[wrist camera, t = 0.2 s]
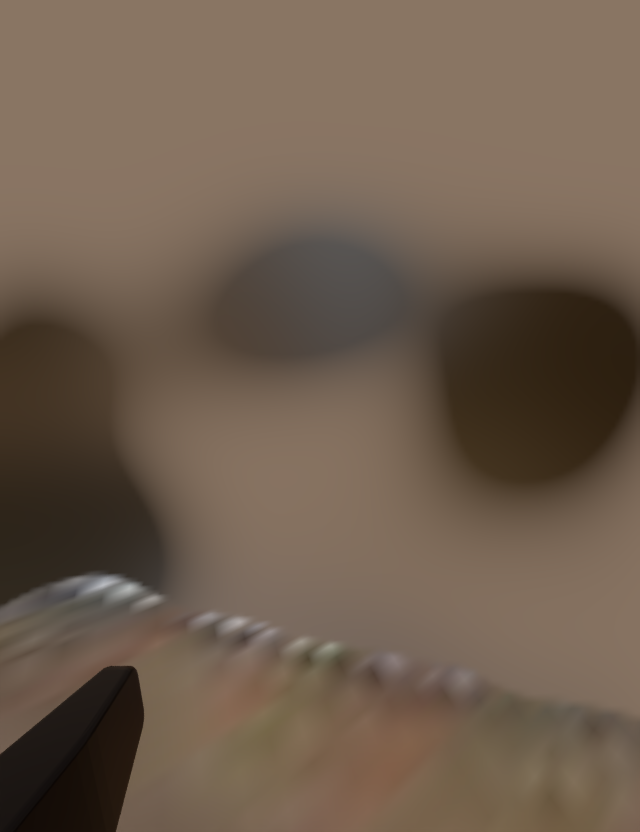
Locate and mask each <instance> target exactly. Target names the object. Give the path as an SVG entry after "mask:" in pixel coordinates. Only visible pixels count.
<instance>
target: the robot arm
mask: <svg viewBox="0 0 640 832" xmlns="http://www.w3.org/2000/svg"><path fill="white" fill-rule="evenodd" d="M143 722H144V708H143V701H142V695H141V689H140V683H139V677H138V673H137V670H136V669H135V668H134V667H133V666H109V667H106V668H104V669H103V670H101V671H100V672H99V673H97V674H96V675H95V676H94V677H93V678H91V679H90V680H89V681H88V682H87V683H85V684H84V685H83V686H82V687H81V688H79V689H78V690H77V691H76V692H75V693H73V694H72V695H71V696H70V697H69V698H67V699H66V700H65V701H64V702H63V703H61V704H60V705H59V706H58V707H57V708H55V709H54V710H53V711H52V712H51V713H49V714H48V715H47V716H46V717H44V718H43V719H42V720H41V721H40V722H38V723H37V724H36V725H35V726H34V727H32V728H31V729H30V730H29V731H28V732H26V733H25V734H24V735H23V736H22V737H20V738H19V739H18V740H17V741H16V742H14V743H13V744H12V745H11V746H10V747H8V748H7V749H6V750H5V751H4V752H2V753H1V754H0V832H116V829H117V825H118V821H119V817H120V814H121V810H122V806H123V802H124V798H125V794H126V790H127V786H128V783H129V779H130V775H131V771H132V767H133V763H134V759H135V755H136V752H137V748H138V744H139V740H140V736H141V732H142V728H143Z"/></svg>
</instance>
